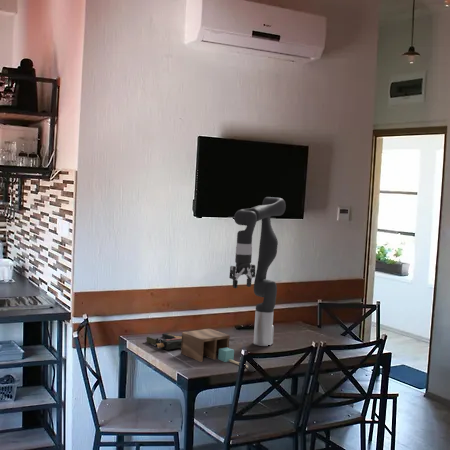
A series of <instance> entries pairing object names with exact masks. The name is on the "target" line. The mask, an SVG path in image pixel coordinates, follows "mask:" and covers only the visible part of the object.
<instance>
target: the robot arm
mask: <svg viewBox="0 0 450 450" xmlns="http://www.w3.org/2000/svg"><path fill="white" fill-rule="evenodd" d="M286 206H287V205H286V201H285V200H284V199H283V198H281V197H273V196H272V197H271V196H266V197H264V198H263V200H262V204H259V205H255V206H253V207H251V208H241V209H238V210H237V211H236V212H235V214H234V216H233V220H234V222H235V224H237V225H239V226H246V227H245V229H244V230H243V229H242V230H239V231H237V235H236V246H235V265H230V267H229V279H231V280H232V288H234V289H238V280H239V278H241V276H243V275H245V276H246V287H248V288H250V287H251V286H252V281H253V280H252V279H253V278H254V282H253V293H254V295H255V296H256V297H260V298H263V301H262V302H261V303H257V304H256V305H255V311H254V312H255V315H254V330H253V331H254V332H253V345H255V346H261V347H268V345H270V346H271V345H274V333H275V326H274V325H273V323H274V312H275V307H276V303H277V301H276V300H277V294H278V293H277V292H278V286H277V283H276V281H274V280H271V279H267V273H268V270H269V268H270V266H271V265H272V263H273V262H274V260H276V259H275V258H276V256H277V253H278V245H279V244H278V243H279V242H278V238H277V236H276V233H275V232H274V229H273V227H272V224H271V222H272V221H271V217H277V216H279V217H280V216H282V215H284V213H285V211H286V208H287V207H286ZM259 221H261V225H260V226H261V228H260V238H259V239H260V240H259V246H258V256H257V257H258V258H257V267H256V265H255V264H251V263H252V253H253V234H254V231H255V227H256V225H257V222H259Z"/></svg>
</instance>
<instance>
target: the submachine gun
mask: <svg viewBox="0 0 450 450" xmlns="http://www.w3.org/2000/svg"><path fill="white" fill-rule="evenodd" d="M161 337H162V338H163V339H162V338H153V337H150V336H146V343H147V344H151V345H153V346H154V347H155V349H156V348H159V349H160V348H161V349H160V350H166V351H168V350H175V349H177V350H178V349H181V343H182V335H175V334H172V333H167V332H166V333H165V332H163V333H162V335H161Z"/></svg>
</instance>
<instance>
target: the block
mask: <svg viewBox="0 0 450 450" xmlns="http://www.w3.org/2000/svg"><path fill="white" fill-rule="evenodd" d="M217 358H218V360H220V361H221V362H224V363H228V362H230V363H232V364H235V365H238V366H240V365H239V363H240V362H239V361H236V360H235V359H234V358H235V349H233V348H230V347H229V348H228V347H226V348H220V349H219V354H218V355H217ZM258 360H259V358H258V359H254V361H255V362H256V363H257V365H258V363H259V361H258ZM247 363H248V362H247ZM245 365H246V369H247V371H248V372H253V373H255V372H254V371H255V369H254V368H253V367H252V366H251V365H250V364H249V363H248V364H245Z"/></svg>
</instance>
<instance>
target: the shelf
mask: <svg viewBox="0 0 450 450" xmlns="http://www.w3.org/2000/svg"><path fill="white" fill-rule="evenodd" d="M181 336H182V343H181V348H180V355H183V356H186V357H188V358H191V359H193V360H196V361H197V360H198V361H197V362H203V360H204V357H206V358H209V359H210V360H211V359H212V360H217V354H218V355H219V349H220V348H226V347H228V348H230V339H231V338H230V335H229V334H227V333H224V332H221V331H218V330H215V329H212V328H204V329H197V330H189V331H183V332H181Z"/></svg>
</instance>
